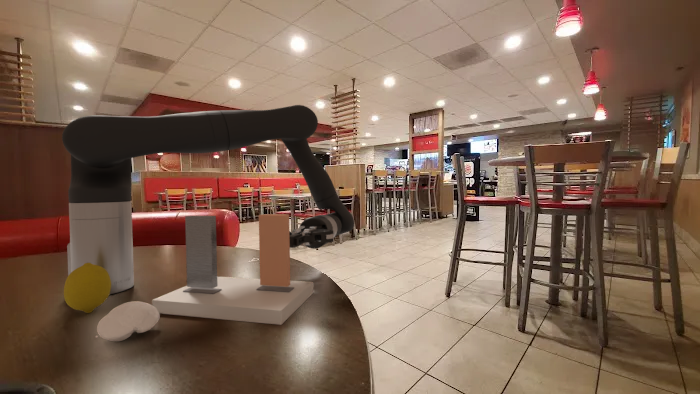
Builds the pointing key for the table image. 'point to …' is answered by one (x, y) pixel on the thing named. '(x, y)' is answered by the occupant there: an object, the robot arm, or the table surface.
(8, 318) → the table surface
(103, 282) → the lemon
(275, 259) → the terracotta paddle
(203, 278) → the grey paddle
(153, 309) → the dumpling
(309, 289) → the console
